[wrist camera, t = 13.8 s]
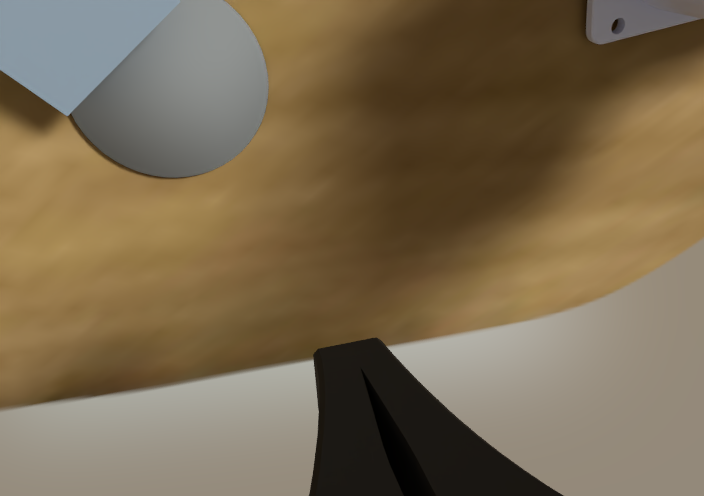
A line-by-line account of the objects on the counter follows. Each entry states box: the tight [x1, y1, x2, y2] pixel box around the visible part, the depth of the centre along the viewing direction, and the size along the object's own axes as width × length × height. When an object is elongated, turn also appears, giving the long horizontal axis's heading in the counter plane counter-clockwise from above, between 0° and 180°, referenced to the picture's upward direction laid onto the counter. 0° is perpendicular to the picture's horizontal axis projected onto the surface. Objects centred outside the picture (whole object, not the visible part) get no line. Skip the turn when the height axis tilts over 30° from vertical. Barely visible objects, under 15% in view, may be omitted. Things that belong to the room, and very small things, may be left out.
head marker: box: [71, 0, 268, 178], centre depth 17 cm, size 6×6×1 cm
